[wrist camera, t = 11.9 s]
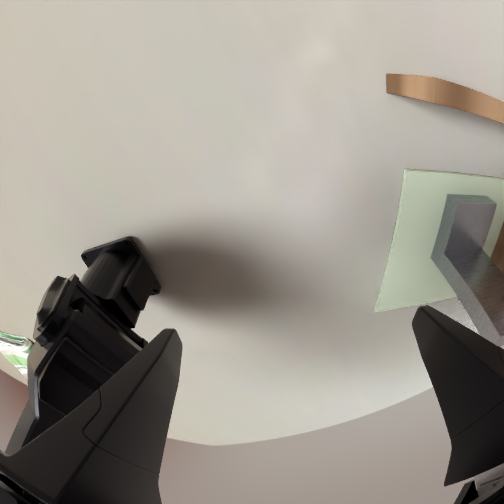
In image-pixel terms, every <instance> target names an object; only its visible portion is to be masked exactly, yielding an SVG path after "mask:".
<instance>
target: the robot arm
mask: <svg viewBox="0 0 504 504" xmlns="http://www.w3.org/2000/svg"><path fill="white" fill-rule="evenodd" d="M127 242H129V243H130V244H128V243H127ZM86 256H87V257H86ZM81 257H82V259H83V261H84V262H85V264H86V265H87V267H88V270H87V271H86V273H85V274H84V276H83V277H82V279H81V281H79V278H78V277H77V276H76V275H75V274H73V275H72V276H71V277H70V278H68V279H66V278H63V277H60V276H57V277H56V278H55V279H54V280H53V282H52V283H51V285H50V286H49V288H48V289H47V291H46V292H45V294H44V296H43V298H42V301H41V303H40V306H39V309H38V311H37V318H36V323H35V328H34V333H33V338H34V339H35V340H36V342H35V344H34V345H33V347H32V349H31V351H30V353H29V354H28V357H27V376H28V392H29V400H28V402H27V404H26V406H25V408H24V410H23V412H22V415H21V417H20V419H19V421H18V423H17V425H16V428H15V430H14V432H13V435H12V437H11V439H10V441H9V444H8V446H7V449H6V451H5V452H3V451H1V450H0V504H162V503H161V498H160V493H159V487H158V478H159V473H160V467H161V462H162V456H163V451H164V447H165V442H166V437H167V432H168V428H169V423H170V418H171V414H172V409H173V405H174V400H175V396H176V392H177V387H178V382H179V375H180V365H181V356H182V342H181V340H180V338H179V335H178V333H177V331H176V330H175V329H164V330H163V331H161V332H160V333H159V334H158V335H157V336H156V337H155V338H154V339H153V340H152V341H151V342H149V343H148V342H147V341H146V340H145V339H144V338H141V337H140V336H138V335H137V334H136V333H135V332H134V331H133V330H131V328H135V325H136V322H137V319H138V317H139V314H140V311H142V310H144V308H145V305H146V302H147V299H148V297H149V295H155V294H159V293H160V291H161V287H160V285H159V283H158V282H157V280H156V278H155V276H154V274H153V273H152V271H151V269H150V268H149V266H148V264H147V262H146V261H145V259H144V258H143V256H142V255H141V253H140V251H139V249H138V248H137V246H136V244H135V242H134V240H133V239H132V238H130V237H126V238H123V239H120V240H116V241H113V242H110V243H107V244H104V245H101V246H98V247H95V248H92V249H89V250H86V251H84V252H83V253H82V255H81ZM412 327H413V331H414V334H415V337H416V340H417V343H418V347H419V350H420V353H421V356H422V359H423V362H424V364H425V367H426V369H427V372H428V374H429V377H430V379H431V382H432V385H433V387H434V390H435V393H436V395H437V398H438V401H439V404H440V407H441V410H442V413H443V416H444V419H445V423H446V426H447V429H448V433H449V436H450V439H451V445H452V451H451V457H450V461H449V465H448V470H447V474H446V478H445V482H444V486H448V485H451V484H454V483H457V482H460V481H463V480H466V479H469V478H471V477H474V479H472V480H471V481H469V482H467V483H465V485H464V486H463V488H462V490H461V492H460V494H459V496H458V498H457V499H456V501H455V503H454V504H504V349H502V348H501V347H499V346H496V345H495V344H494V343H492V342H490V341H489V340H487V339H485V338H484V337H482V336H480V335H479V334H477V333H475V332H474V331H472V330H470V329H469V328H467V327H465V326H463V325H462V324H460V323H458V322H457V321H455V320H453V319H451V318H450V317H448V316H446V315H444V314H443V313H441V312H439V311H437V310H436V309H434V308H432V307H430V306H428V305H425V306H421V307H419V308H418V309H417V312H416V314H415V316H414V318H413V321H412Z"/></svg>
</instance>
